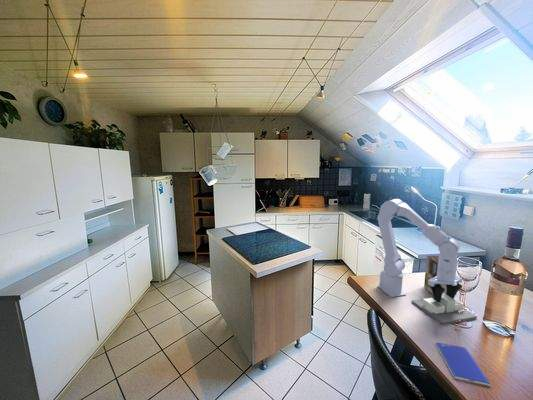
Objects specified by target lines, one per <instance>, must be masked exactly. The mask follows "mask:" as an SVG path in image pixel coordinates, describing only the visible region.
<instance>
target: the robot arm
mask: <svg viewBox="0 0 533 400" xmlns="http://www.w3.org/2000/svg"><path fill="white" fill-rule="evenodd" d="M379 208H380V209H379V212H378V215H377V222H378V228H379V232H380V236H381V240H382V246H383V250H384V258H383V262H384V265H383V269H382V270H381V272H380V273H379V285H377V288H379V289H380V290H381V291H383V292H384V293H386V295H387V296H389V297H391V298H394V297H402V296H407V293H405V292H404V291H403V277H404V273H403V271H404V269H405V268H406V264H405V262H404V260H403V259H402V257H401V254H399V251H398V247H397V243H396V238H395V234H394V230H393V225H392V221H391V220H392V219H394V216H395V215H396V216H397V217H405V218H407V220H409V221H410V222H412V223H413V224H414V225H416V227H418V228H419V229H420V230H421V232H422V233H421V234H422V235H423V236H424V237H425V238H426V239H428V240H429V241H430V242H431V243H432V244H434V245H435V246H436V247H437V249H438V251H439V255H438V256H439V262H438V271H437V276H436V277H434V278H432V279H430V280H428V284H429V286H430V287H431V290H432V292H433V294H432V296H433V297H434V300H435V301H437V302H440V301H441V297H442V294H443V292H444V290H445V289H444V288H442V287H441V284H446V289H447V290H446V295H448V296H449V297H451V298H453V299H454V298H455V297H456V295H457V293H458V292H460V290H461V289H462V288H463V285H462V278H463V277H461V276H459V277H457V276H458V275H457V267H458V258H459V257H458V253H459V251H460V248H461V245H460V242H459V241H458V240H457V239H456V238H453V237H452V236H451V235H447V233H446V232H444V231H443V230H442V229H441V227H440V226H439V225H436V224H431V223H430V224H429V223H428V222H427V221H426V220H424V219H423V218H422V216H420V215H419V214H418V213H417V212H416V211H414V209H412V208H411V207H410V206H409V204H407V203H406V202H404V201H403V200H402V199H400V198H393V199H391V200H385V202H383V204H382V205H380V207H379ZM460 277H461V278H460Z"/></svg>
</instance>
